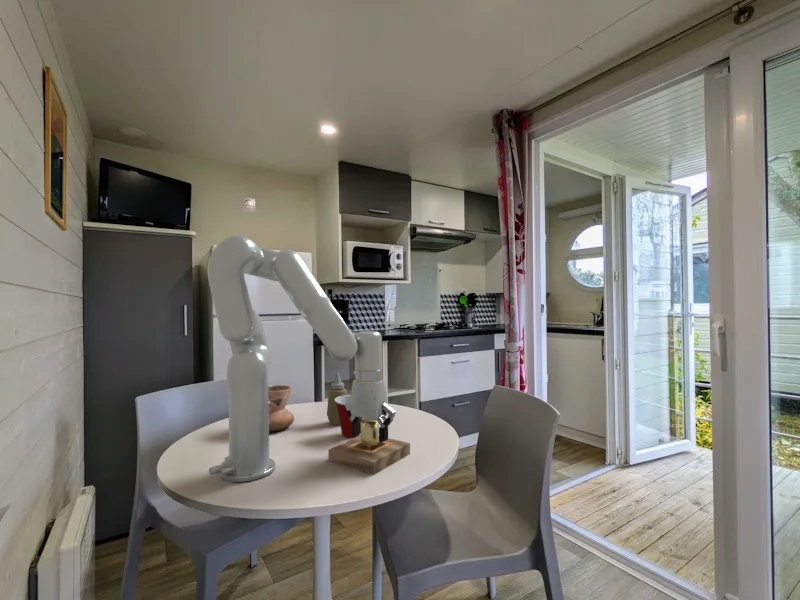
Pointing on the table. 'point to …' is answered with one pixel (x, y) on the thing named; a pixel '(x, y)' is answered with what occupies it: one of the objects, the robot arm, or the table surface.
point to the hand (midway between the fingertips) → (369, 437)
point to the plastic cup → (344, 416)
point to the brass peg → (369, 434)
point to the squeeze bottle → (334, 393)
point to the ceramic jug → (279, 407)
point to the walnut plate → (369, 454)
